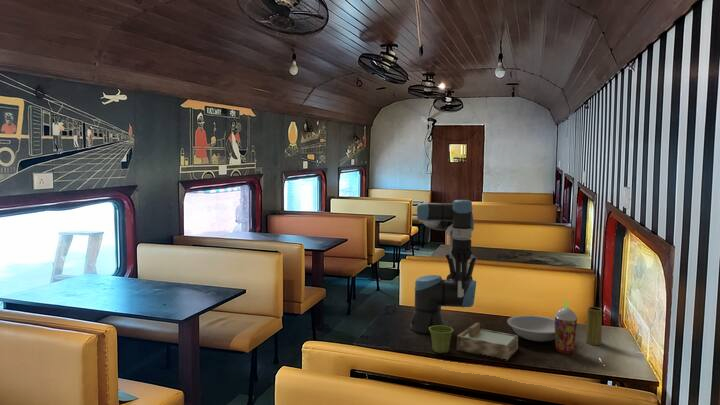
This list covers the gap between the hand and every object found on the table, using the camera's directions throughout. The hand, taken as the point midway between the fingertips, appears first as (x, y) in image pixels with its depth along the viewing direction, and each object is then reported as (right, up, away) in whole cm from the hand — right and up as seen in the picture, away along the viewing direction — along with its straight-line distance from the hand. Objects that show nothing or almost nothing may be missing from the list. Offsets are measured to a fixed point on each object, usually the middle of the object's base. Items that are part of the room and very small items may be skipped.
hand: (460, 296), depth 210 cm
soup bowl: (+33, -20, +9) cm, 40 cm away
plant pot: (-9, -20, -6) cm, 23 cm away
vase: (+55, -20, +4) cm, 59 cm away
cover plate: (+10, -16, -5) cm, 20 cm away
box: (+10, -20, -5) cm, 23 cm away
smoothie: (+40, -21, -6) cm, 45 cm away
